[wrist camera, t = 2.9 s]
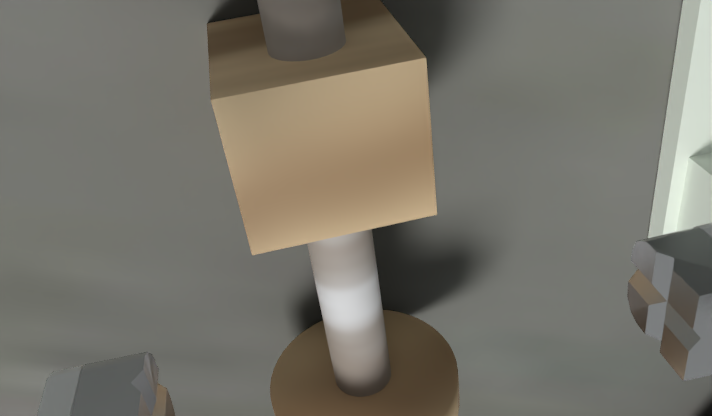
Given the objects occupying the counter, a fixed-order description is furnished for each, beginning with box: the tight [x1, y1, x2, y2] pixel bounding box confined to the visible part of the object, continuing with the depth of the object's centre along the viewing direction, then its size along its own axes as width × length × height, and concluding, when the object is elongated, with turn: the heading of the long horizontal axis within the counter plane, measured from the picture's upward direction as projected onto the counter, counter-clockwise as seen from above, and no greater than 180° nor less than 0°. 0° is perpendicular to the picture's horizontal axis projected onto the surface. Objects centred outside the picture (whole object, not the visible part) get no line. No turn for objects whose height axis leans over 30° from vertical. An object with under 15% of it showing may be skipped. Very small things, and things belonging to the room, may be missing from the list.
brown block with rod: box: [207, 0, 459, 416], centre depth 17 cm, size 20×6×6 cm, turn 7°
